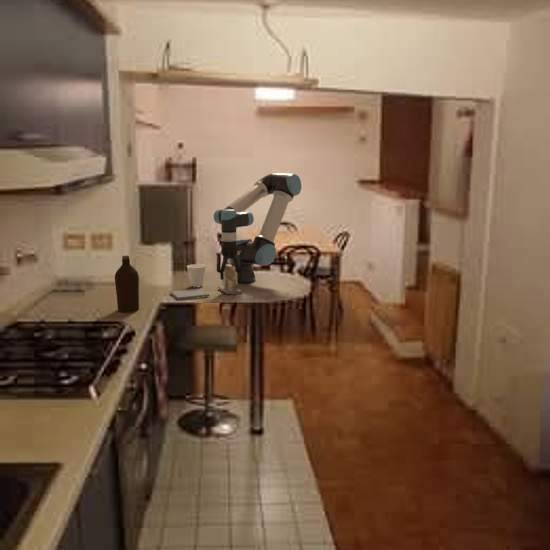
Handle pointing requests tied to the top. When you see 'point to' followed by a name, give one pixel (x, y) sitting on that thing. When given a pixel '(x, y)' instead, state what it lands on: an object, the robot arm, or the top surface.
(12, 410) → the top surface
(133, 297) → the olive oil
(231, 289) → the stub
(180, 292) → the board
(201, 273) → the cup
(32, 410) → the top surface
